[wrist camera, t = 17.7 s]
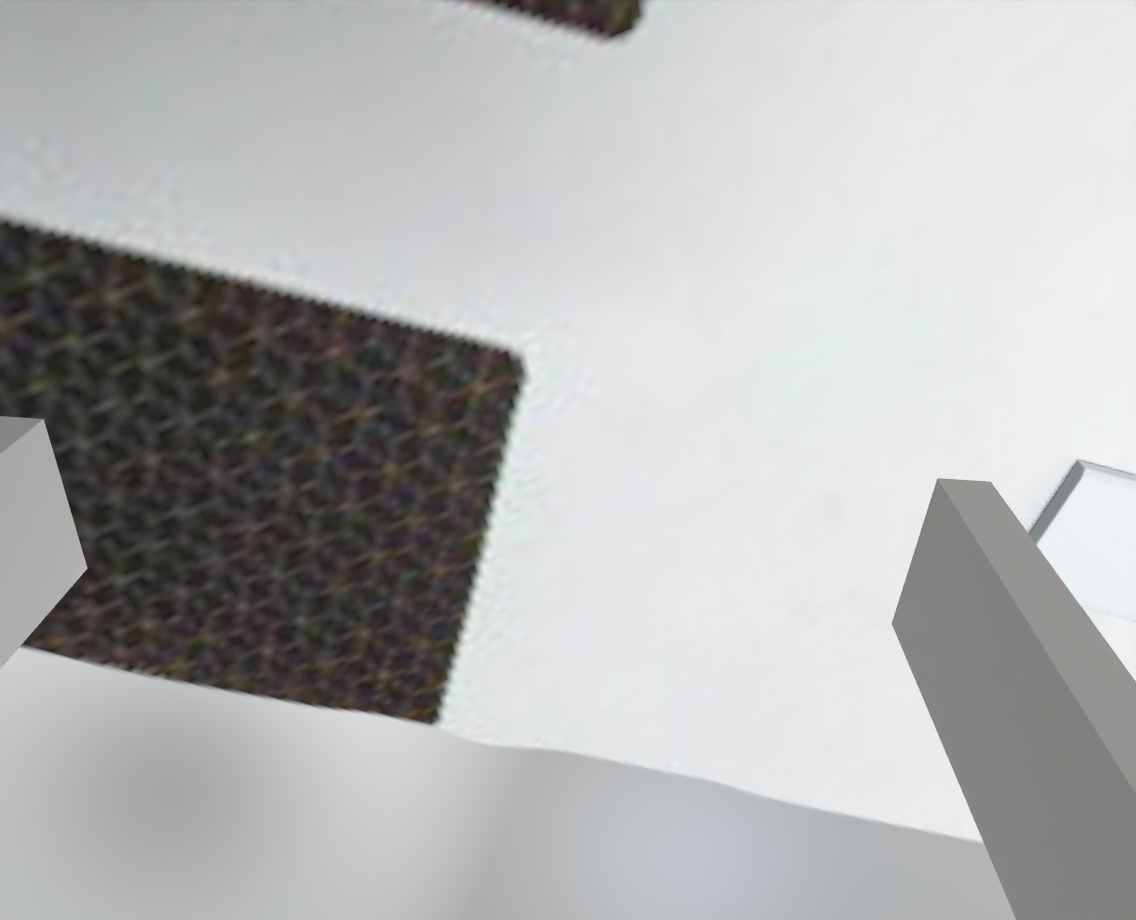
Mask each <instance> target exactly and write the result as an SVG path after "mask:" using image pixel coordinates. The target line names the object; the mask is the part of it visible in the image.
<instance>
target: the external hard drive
mask: <svg viewBox="0 0 1136 920" xmlns="http://www.w3.org/2000/svg"><path fill="white" fill-rule="evenodd" d="M1029 535H1030V537H1031V538H1032V540H1033V541H1034V542H1035V544H1036V545H1037V546H1038V548H1039V549H1040V551H1041V552H1042V553H1043V555H1044V556H1045V558H1046V559H1047V560H1048V562H1049V563H1050V564H1051V566H1052V567H1053V569H1054V570H1055V571H1056V573H1057V574H1058V575H1059V577H1060V578H1061V580H1062V581H1063V582H1064V584H1065V585H1066V586H1067V588H1068V589H1069V591H1070V592H1071V593H1072V595H1073V596H1074V598H1075V599H1076V600H1077V602H1078V603H1079V604H1080V606H1081V607H1082V608H1084V609H1089V610H1093V611H1097V612H1101V613H1104V614H1108V615H1112V616H1116V617H1121V618H1125V619H1129V620H1133V621H1136V475H1132V474H1128V473H1124V472H1121V471H1117V470H1113V469H1110V468H1106V467H1102V466H1098V465H1095V464H1091V463H1087V462H1084V461H1080V460H1078V461H1077V462H1076V464H1075V465H1074V467H1073V468H1072V470H1071V471H1070V473H1069V474H1068V476H1067V477H1066V479H1065V480H1064V482H1063V483H1062V485H1061V486H1060V488H1059V489H1058V491H1057V492H1056V494H1055V495H1054V497H1053V498H1052V500H1051V501H1050V503H1049V504H1048V506H1047V507H1046V509H1045V510H1044V512H1043V513H1042V515H1041V516H1040V518H1039V519H1038V520H1037V522H1036V523H1035V525H1034V526H1033V528H1032V529H1031V531H1030V532H1029Z"/></svg>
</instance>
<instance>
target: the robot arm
mask: <svg viewBox="0 0 1136 920" xmlns="http://www.w3.org/2000/svg"><path fill="white" fill-rule="evenodd" d="M86 569H87V566H86V562H85V559H84V555H83V552H82V549H81V545H80V542H79V538H78V535H77V532H76V528H75V525H74V521H73V518H72V515H71V511H70V508H69V504H68V501H67V498H66V494H65V491H64V487H63V484H62V481H61V477H60V474H59V470H58V467H57V464H56V460H55V457H54V453H53V450H52V447H51V443H50V440H49V436H48V433H47V430H46V426H45V423H44V419H32V418H17V417H2V416H0V669H1V667H2V666H3V665H4V664H5V663H6V662H7V661H8V659H9V658H10V657H11V656H12V655H13V653H14V652H15V651H16V650H17V649H18V648H19V647H20V646H21V644H22V643H23V642H24V641H25V640H26V639H27V637H28V636H29V635H30V634H31V633H32V632H33V631H34V629H35V628H36V627H37V626H38V625H39V624H40V622H41V621H42V620H43V619H44V618H45V617H46V616H47V614H48V613H49V612H50V611H51V610H52V609H53V607H54V606H55V605H56V604H57V603H58V602H59V601H60V599H61V598H62V597H63V596H64V595H65V594H66V592H67V591H68V590H69V589H70V588H71V587H72V586H73V584H74V583H75V582H76V581H77V580H78V579H79V577H80V576H81V575H82V574H83V573H84V572H85V571H86ZM892 625H893V628H894V630H895V632H896V635H897V637H898V640H899V642H900V644H901V647H902V649H903V651H904V654H905V656H906V659H907V661H908V663H909V666H910V668H911V670H912V673H913V675H914V678H915V680H916V682H917V685H918V687H919V689H920V692H921V694H922V697H923V699H924V701H925V704H926V706H927V709H928V711H929V713H930V716H931V718H932V720H933V723H934V725H935V728H936V730H937V732H938V735H939V737H940V739H941V742H942V744H943V747H944V749H945V751H946V754H947V756H948V758H949V761H950V763H951V766H952V768H953V770H954V773H955V775H956V777H957V780H958V782H959V785H960V787H961V789H962V792H963V794H964V796H965V799H966V801H967V804H968V806H969V808H970V811H971V813H972V815H973V818H974V820H975V823H976V825H977V827H978V830H979V832H980V834H981V837H982V839H983V842H984V844H985V846H986V849H987V851H988V853H989V856H990V858H991V861H992V863H993V865H994V868H995V870H996V872H997V875H998V877H999V879H1000V882H1001V884H1002V887H1003V889H1004V891H1005V894H1006V896H1007V898H1008V901H1009V903H1010V906H1011V908H1012V911H1013V913H1014V915H1015V918H1016V920H1136V682H1135V680H1134V679H1133V677H1132V676H1131V675H1130V673H1129V672H1128V671H1127V669H1126V668H1125V666H1124V665H1123V664H1122V662H1121V661H1120V660H1119V658H1118V657H1117V655H1116V654H1115V653H1114V651H1113V650H1112V649H1111V647H1110V646H1109V644H1108V643H1107V642H1106V640H1105V639H1104V637H1103V636H1102V635H1101V633H1100V632H1099V631H1098V629H1097V628H1096V626H1095V625H1094V624H1093V622H1092V621H1091V620H1090V618H1089V617H1088V615H1087V614H1086V613H1085V611H1084V610H1083V609H1082V607H1081V606H1080V604H1079V603H1078V602H1077V600H1076V599H1075V598H1074V596H1073V595H1072V593H1071V592H1070V591H1069V589H1068V588H1067V586H1066V585H1065V584H1064V582H1063V581H1062V580H1061V578H1060V577H1059V575H1058V574H1057V573H1056V571H1055V570H1054V569H1053V567H1052V566H1051V564H1050V563H1049V562H1048V560H1047V559H1046V558H1045V556H1044V555H1043V553H1042V552H1041V551H1040V549H1039V548H1038V546H1037V545H1036V544H1035V542H1034V541H1033V540H1032V538H1031V537H1030V535H1029V534H1028V533H1027V531H1026V530H1025V529H1024V527H1023V526H1022V524H1021V523H1020V522H1019V520H1018V519H1017V518H1016V516H1015V515H1014V513H1013V512H1012V511H1011V509H1010V508H1009V507H1008V505H1007V504H1006V502H1005V501H1004V500H1003V498H1002V497H1001V495H1000V494H999V493H998V491H997V490H996V489H995V487H994V486H993V484H992V483H991V482H985V481H970V480H955V479H940V478H938V479H937V482H936V485H935V488H934V491H933V495H932V498H931V501H930V504H929V507H928V510H927V514H926V517H925V520H924V523H923V526H922V529H921V533H920V536H919V539H918V542H917V545H916V548H915V552H914V555H913V558H912V561H911V564H910V567H909V571H908V574H907V577H906V580H905V583H904V586H903V590H902V593H901V596H900V599H899V602H898V605H897V609H896V612H895V615H894V618H893V621H892Z"/></svg>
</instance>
